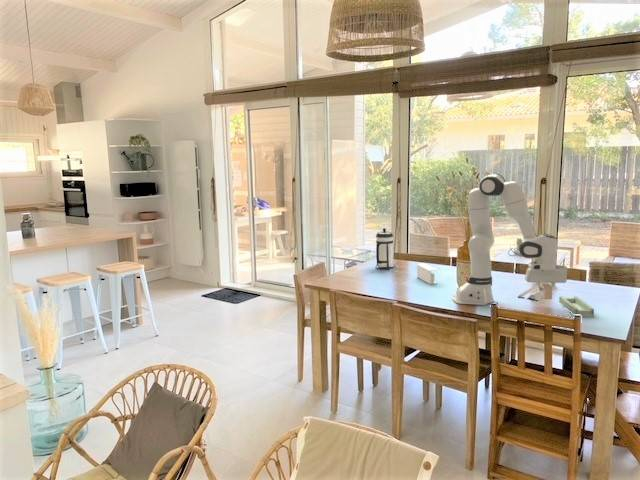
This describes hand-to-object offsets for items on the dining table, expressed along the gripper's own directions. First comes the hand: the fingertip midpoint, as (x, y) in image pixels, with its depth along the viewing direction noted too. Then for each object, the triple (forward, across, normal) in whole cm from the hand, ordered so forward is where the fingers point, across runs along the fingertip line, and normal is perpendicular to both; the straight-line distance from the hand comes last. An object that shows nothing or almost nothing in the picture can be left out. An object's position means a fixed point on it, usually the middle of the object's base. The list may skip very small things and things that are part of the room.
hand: (545, 290), depth 258 cm
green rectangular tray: (+9, -15, +3) cm, 18 cm away
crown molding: (+11, -6, -28) cm, 31 cm away
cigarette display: (+12, +56, -60) cm, 83 cm away
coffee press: (+13, +84, -96) cm, 128 cm away
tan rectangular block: (+2, 0, 0) cm, 2 cm away
